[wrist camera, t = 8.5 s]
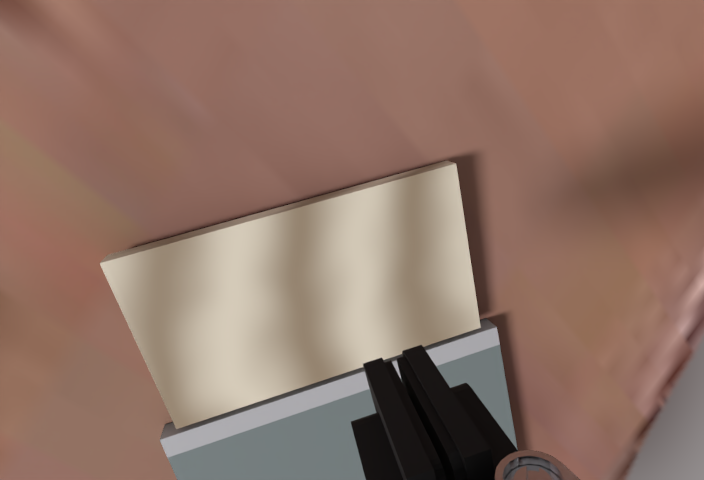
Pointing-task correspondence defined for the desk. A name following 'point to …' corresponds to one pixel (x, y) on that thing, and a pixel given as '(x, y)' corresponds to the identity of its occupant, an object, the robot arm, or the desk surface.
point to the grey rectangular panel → (324, 420)
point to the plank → (298, 291)
